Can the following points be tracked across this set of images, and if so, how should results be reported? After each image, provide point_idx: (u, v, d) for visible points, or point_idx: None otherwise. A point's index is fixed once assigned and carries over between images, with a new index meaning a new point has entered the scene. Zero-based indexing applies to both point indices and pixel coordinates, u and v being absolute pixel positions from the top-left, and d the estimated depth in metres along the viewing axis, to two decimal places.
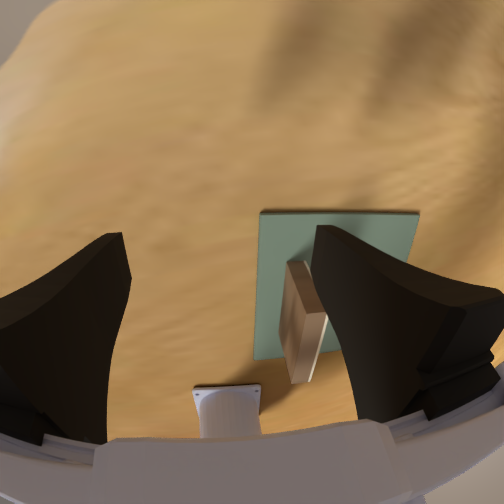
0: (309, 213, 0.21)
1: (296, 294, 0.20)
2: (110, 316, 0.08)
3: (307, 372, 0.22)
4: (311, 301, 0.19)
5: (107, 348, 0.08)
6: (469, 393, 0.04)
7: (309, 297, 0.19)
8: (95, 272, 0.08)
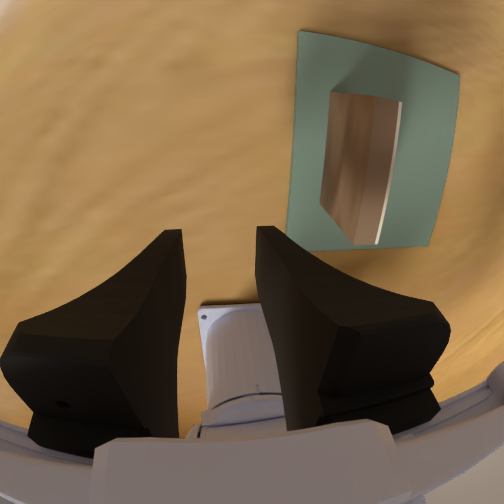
0: (351, 40, 0.15)
1: (353, 99, 0.14)
2: (176, 316, 0.09)
3: (375, 221, 0.15)
4: None
5: (174, 349, 0.08)
6: (388, 427, 0.04)
7: None
8: (168, 270, 0.08)
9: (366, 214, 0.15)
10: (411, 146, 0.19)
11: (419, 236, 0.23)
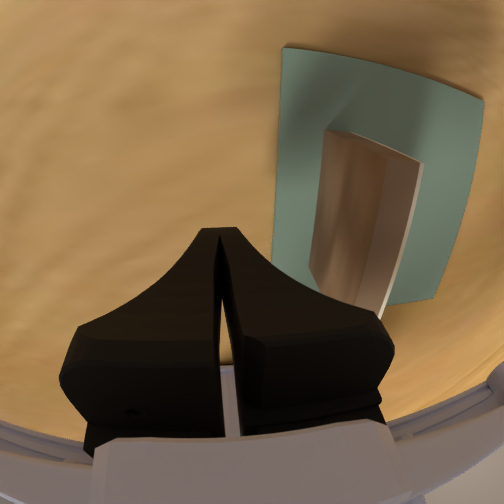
0: (354, 58, 0.12)
1: (354, 152, 0.10)
2: (218, 314, 0.09)
3: None
4: (386, 152, 0.09)
5: (218, 347, 0.08)
6: None
7: (380, 149, 0.10)
8: (216, 268, 0.08)
9: None
10: (423, 192, 0.16)
11: (424, 289, 0.20)
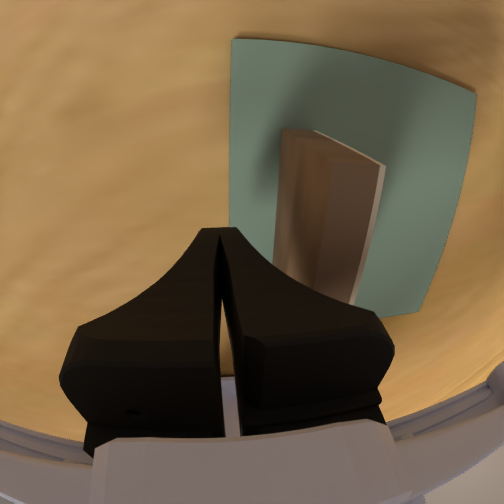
0: (317, 46, 0.10)
1: (304, 154, 0.09)
2: (218, 314, 0.09)
3: None
4: (339, 153, 0.08)
5: (218, 347, 0.08)
6: None
7: (333, 149, 0.08)
8: (216, 268, 0.08)
9: None
10: (404, 197, 0.14)
11: (408, 303, 0.19)
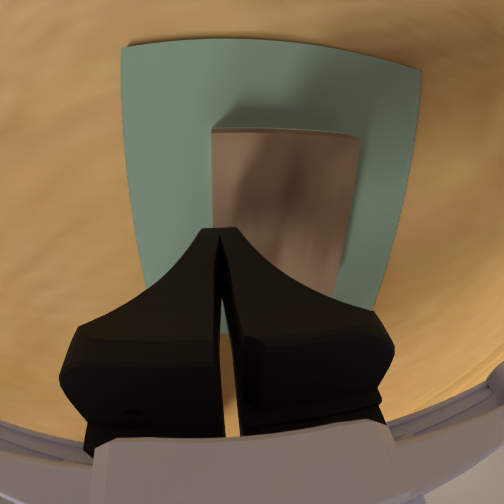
0: (207, 39, 0.10)
1: (305, 143, 0.11)
2: (218, 314, 0.09)
3: None
4: (329, 134, 0.11)
5: (218, 347, 0.08)
6: None
7: (321, 133, 0.11)
8: (216, 268, 0.08)
9: None
10: None
11: None
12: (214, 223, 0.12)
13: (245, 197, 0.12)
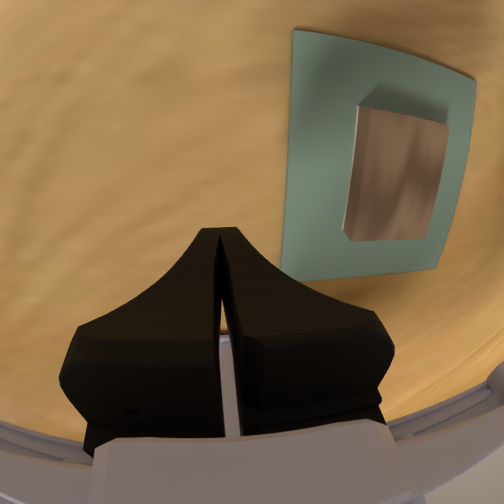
0: (355, 40, 0.12)
1: (422, 124, 0.14)
2: (218, 314, 0.09)
3: None
4: (430, 120, 0.14)
5: (218, 347, 0.08)
6: None
7: (426, 119, 0.14)
8: (216, 268, 0.08)
9: None
10: None
11: (427, 259, 0.21)
12: (364, 174, 0.15)
13: (385, 157, 0.15)
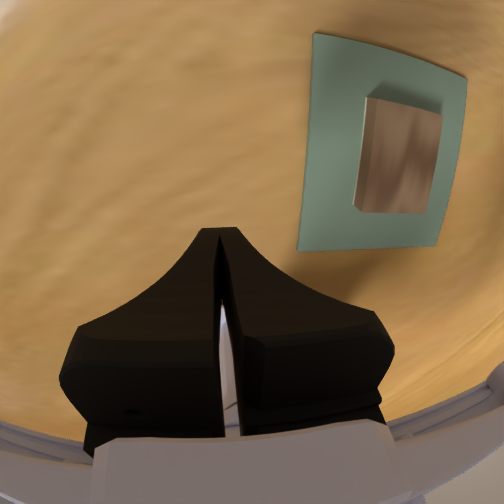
0: None
1: (419, 113, 0.16)
2: (218, 314, 0.09)
3: None
4: None
5: None
6: None
7: None
8: (216, 268, 0.08)
9: None
10: None
11: (427, 236, 0.23)
12: (372, 153, 0.17)
13: (389, 139, 0.17)
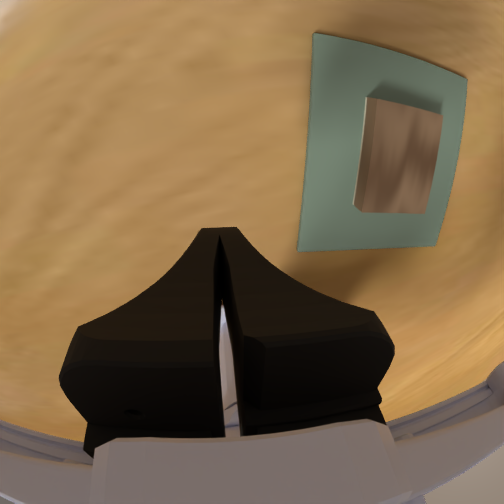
0: None
1: (419, 113, 0.16)
2: (218, 314, 0.09)
3: None
4: None
5: None
6: None
7: None
8: (216, 268, 0.08)
9: None
10: None
11: (427, 236, 0.23)
12: (372, 153, 0.17)
13: (389, 139, 0.17)
